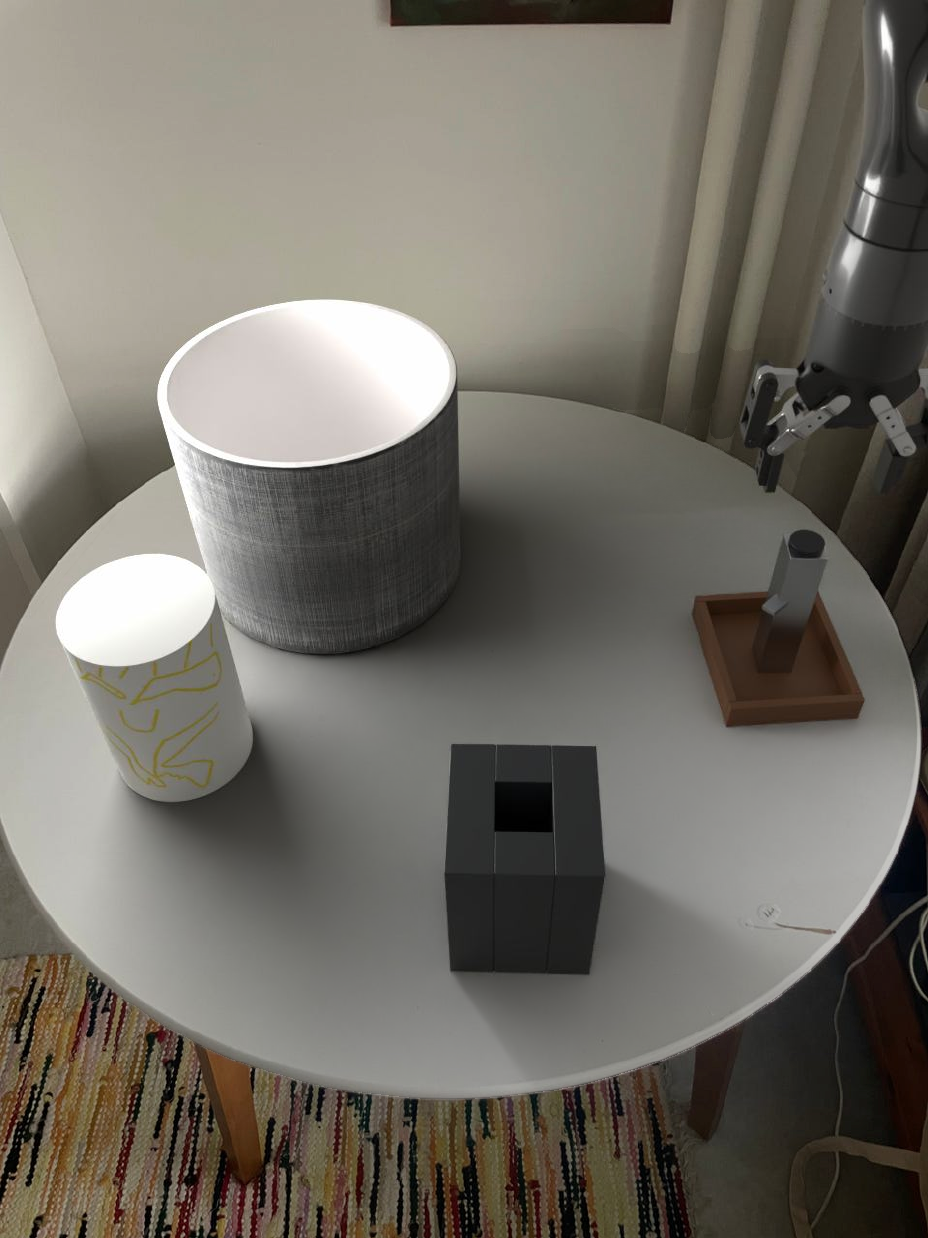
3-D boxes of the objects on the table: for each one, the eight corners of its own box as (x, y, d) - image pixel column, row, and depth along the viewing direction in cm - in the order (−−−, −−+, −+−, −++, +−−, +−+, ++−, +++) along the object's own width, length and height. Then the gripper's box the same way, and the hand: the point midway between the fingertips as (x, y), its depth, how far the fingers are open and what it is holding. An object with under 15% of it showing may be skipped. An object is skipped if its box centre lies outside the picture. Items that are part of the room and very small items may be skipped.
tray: (858, 718, 89) (865, 700, 87) (725, 727, 89) (730, 709, 87) (811, 606, 98) (817, 588, 97) (691, 613, 98) (695, 595, 96)
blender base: (582, 852, 80) (596, 745, 70) (589, 975, 74) (605, 876, 63) (455, 849, 81) (450, 743, 71) (450, 972, 74) (444, 873, 64)
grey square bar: (797, 637, 95) (835, 517, 84) (809, 684, 91) (851, 565, 80) (734, 636, 95) (765, 516, 85) (744, 684, 91) (777, 564, 81)
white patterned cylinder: (115, 813, 84) (50, 678, 71) (118, 705, 91) (60, 566, 79) (257, 787, 85) (218, 651, 73) (248, 683, 93) (211, 543, 81)
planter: (188, 660, 95) (127, 471, 79) (229, 485, 112) (186, 301, 96) (463, 655, 95) (457, 464, 79) (461, 481, 112) (456, 296, 96)
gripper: (782, 322, 65) (737, 518, 76) (1012, 321, 64) (932, 519, 76) (761, 264, 70) (722, 456, 81) (975, 263, 69) (905, 457, 81)
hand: (823, 486), depth 79 cm, fingers open, 8 cm apart
